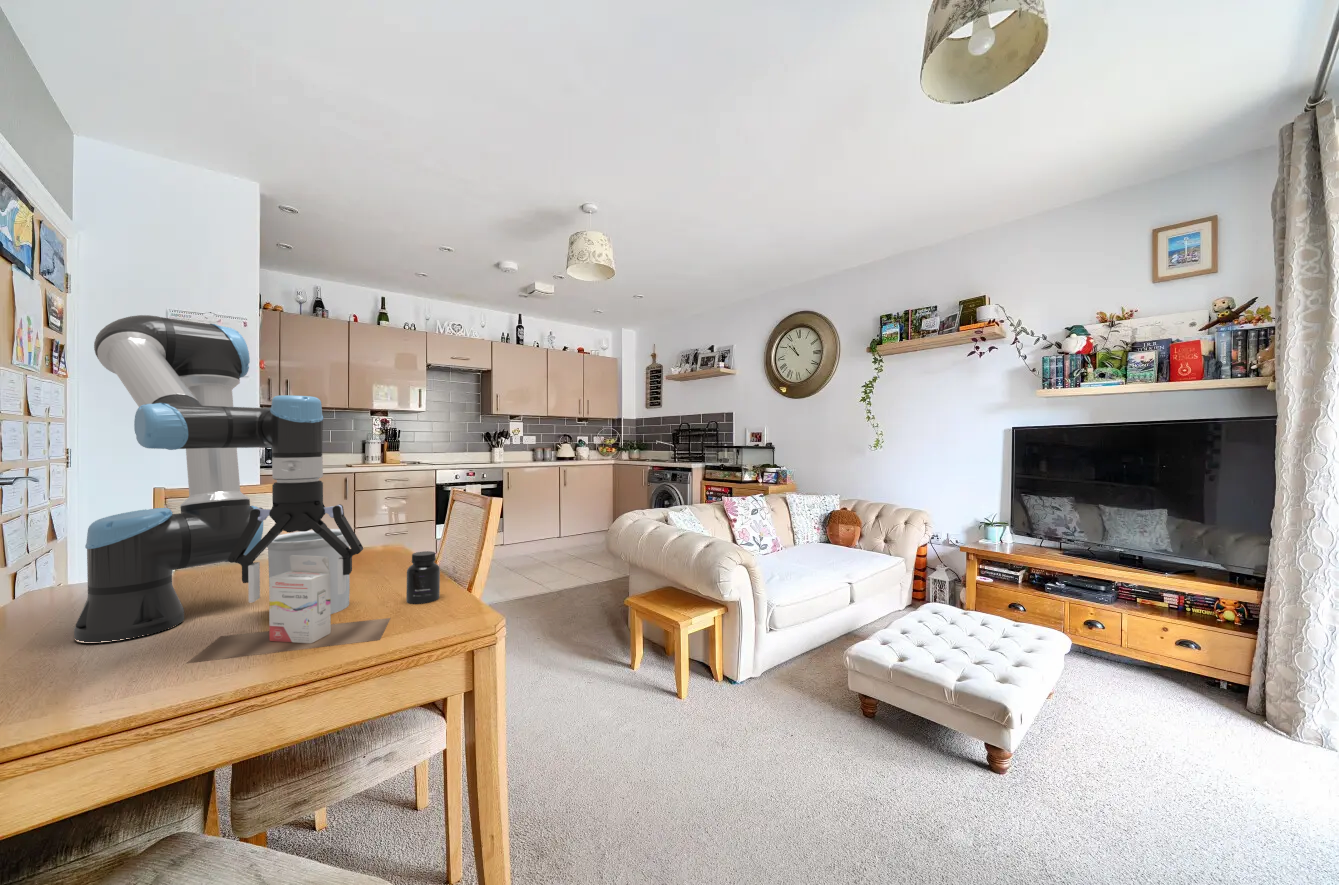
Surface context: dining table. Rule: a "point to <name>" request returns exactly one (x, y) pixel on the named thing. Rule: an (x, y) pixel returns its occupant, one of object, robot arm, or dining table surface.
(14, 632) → the dining table surface
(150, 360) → the robot arm
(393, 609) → the dining table surface
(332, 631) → the walnut board
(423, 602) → the supplement bottle
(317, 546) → the utensil holder
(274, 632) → the ink cartridge box
